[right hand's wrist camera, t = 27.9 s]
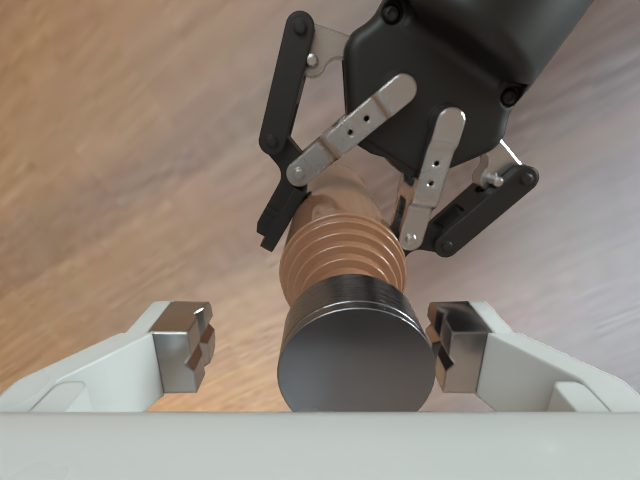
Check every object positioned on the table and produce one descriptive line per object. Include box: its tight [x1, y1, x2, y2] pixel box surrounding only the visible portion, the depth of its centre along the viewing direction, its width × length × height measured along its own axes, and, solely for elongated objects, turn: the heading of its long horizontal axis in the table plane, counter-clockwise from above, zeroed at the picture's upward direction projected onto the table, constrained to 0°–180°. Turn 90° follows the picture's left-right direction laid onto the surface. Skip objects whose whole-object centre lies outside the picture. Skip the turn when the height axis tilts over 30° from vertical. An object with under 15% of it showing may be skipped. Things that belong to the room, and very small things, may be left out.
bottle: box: [279, 165, 407, 307], centre depth 17 cm, size 5×5×17 cm
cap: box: [277, 274, 436, 412], centre depth 9 cm, size 4×4×2 cm
